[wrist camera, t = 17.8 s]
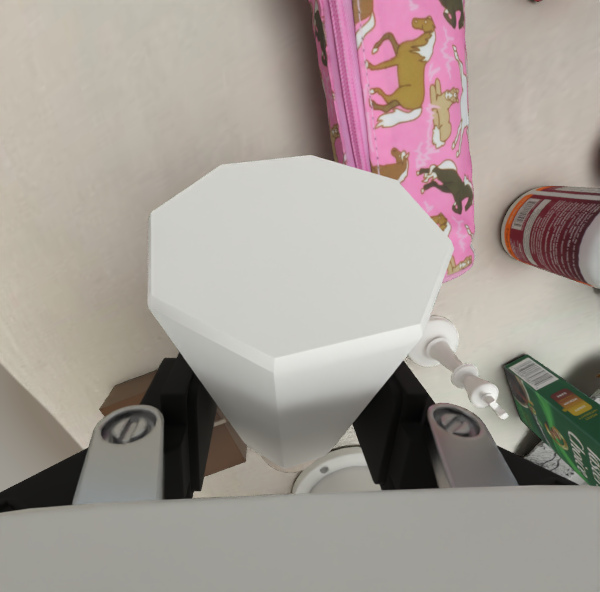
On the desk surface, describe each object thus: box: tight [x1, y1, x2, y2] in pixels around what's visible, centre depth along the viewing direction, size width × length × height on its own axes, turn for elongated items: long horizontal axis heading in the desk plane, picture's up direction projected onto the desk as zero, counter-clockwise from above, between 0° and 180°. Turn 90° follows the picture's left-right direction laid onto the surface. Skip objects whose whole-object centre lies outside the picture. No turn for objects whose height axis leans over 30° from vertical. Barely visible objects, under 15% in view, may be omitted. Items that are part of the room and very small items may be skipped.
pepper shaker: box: [148, 155, 454, 473], centre depth 10 cm, size 5×5×11 cm
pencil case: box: [308, 0, 476, 283], centre depth 19 cm, size 21×9×9 cm, turn 14°
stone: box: [524, 389, 600, 486], centre depth 34 cm, size 22×3×10 cm
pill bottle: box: [501, 186, 600, 289], centre depth 22 cm, size 6×6×11 cm
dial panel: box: [99, 370, 247, 477], centre depth 29 cm, size 10×9×3 cm
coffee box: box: [504, 355, 600, 487], centre depth 27 cm, size 8×3×13 cm, turn 28°
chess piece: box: [407, 316, 508, 420], centre depth 26 cm, size 5×5×10 cm
